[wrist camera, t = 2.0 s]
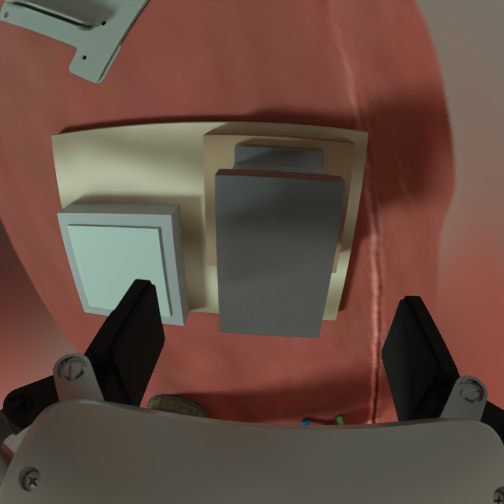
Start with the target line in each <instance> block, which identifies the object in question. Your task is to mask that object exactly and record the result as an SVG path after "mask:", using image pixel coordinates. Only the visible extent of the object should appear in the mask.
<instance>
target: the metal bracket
mask: <svg viewBox="0 0 504 504" xmlns="http://www.w3.org/2000/svg"><path fill="white" fill-rule="evenodd" d="M148 1H149V0H6V1H5V3H4V5H3V7H2V9H1V11H0V20H2V21H5V22H8V23H12V24H15V25H18V26H21V27H24V28H27V29H30V30H33V31H35V32H38V33H41V34H44V35H47V36H49V37H52V38H55V39H57V40H60V41H62V42H65V43H67V44H70V45H72V46H75V47H76V48H77V52H76V54H75V56H74V58H73V60H72V62H71V64H70V66H69V71H70V72H71V73H73V74H75V75H77V76H80V77H82V78H84V79H87V80H89V81H91V82H94V83H100V82H101V81H103V79H104V77H105V75H106V73H107V71H108V70H109V68H110V66H111V64H112V62H113V61H114V59H115V57H116V55H117V54H118V52H119V50H120V49H121V42H122V41H123V39H124V37H125V36H126V34H127V32H128V31H129V29H130V28H131V26H132V25H133V23H134V22H135V20H136V18H137V17H138V16H139V14H140V13H141V11H142V10H143V8H144V7H145V5H146V4H147V2H148ZM7 12H9V16H8V17H7V18H6V17H5V15H6V13H7ZM103 21H105V22H106V24H105V25H102V22H103ZM84 55H86V59H85V60H84V59H83V56H84Z"/></svg>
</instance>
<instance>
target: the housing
mask: <svg viewBox="0 0 504 504" xmlns="http://www.w3.org/2000/svg"><path fill="white" fill-rule="evenodd" d="M323 161H324V151H323V150H322V149H320V148H308V147H295V146H279V145H260V144H236V145H235V150H234V165H233V167H232V169H219V170H218V171H217V173H216V174H215V218H216V253H217V280H218V303H219V324H220V332H226V333H238V334H251V335H267V336H285V337H309V338H319V333H320V329H321V324H322V319H323V315H324V310H325V305H326V300H327V295H328V290H329V285H330V280H331V274H332V269H333V264H334V258H335V252H336V246H337V240H338V234H339V228H340V221H341V215H342V208H343V201H344V193H345V186H346V183H345V181H344V180H343V178H342V177H341V176H336V175H326V174H325V172H324V170H323Z"/></svg>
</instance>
